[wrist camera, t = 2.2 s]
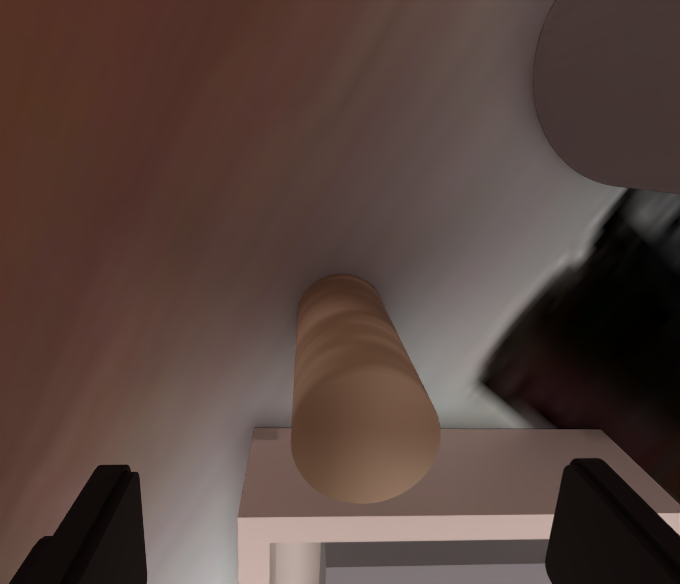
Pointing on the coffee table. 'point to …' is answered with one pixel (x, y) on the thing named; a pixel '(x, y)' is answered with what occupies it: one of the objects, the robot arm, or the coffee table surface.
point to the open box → (421, 498)
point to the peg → (357, 397)
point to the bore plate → (435, 562)
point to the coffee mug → (613, 90)
